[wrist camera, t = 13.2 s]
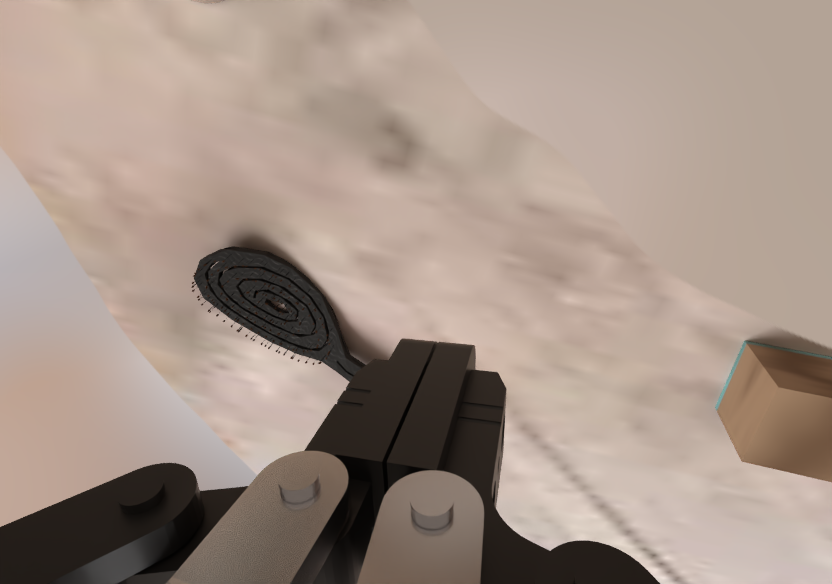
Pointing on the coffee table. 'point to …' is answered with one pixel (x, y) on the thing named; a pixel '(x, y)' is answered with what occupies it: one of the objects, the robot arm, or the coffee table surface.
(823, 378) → the two tone block
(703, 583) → the coffee table surface
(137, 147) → the coffee table surface
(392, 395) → the robot arm
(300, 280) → the hairbrush
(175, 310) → the coffee table surface
